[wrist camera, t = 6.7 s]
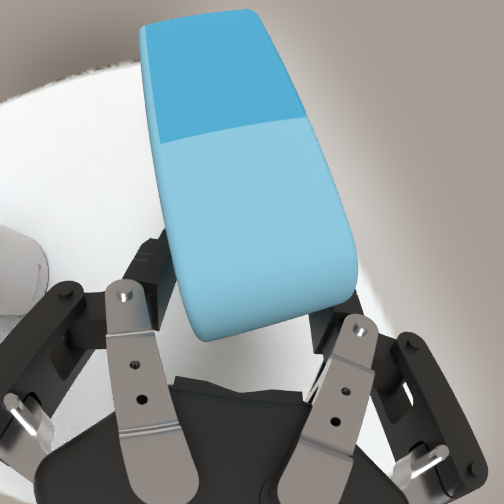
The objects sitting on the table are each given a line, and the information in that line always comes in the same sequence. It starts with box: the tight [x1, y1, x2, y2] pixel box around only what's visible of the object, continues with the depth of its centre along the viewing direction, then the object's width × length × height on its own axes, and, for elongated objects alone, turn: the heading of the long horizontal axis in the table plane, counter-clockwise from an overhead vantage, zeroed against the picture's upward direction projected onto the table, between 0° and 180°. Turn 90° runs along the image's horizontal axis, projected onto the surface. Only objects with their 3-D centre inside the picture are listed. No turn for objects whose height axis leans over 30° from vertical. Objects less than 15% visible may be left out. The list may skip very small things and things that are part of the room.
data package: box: [139, 9, 358, 342], centre depth 14 cm, size 12×4×12 cm, turn 15°
